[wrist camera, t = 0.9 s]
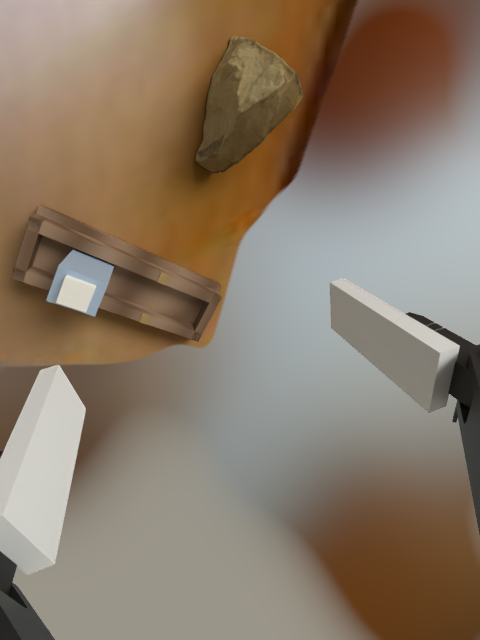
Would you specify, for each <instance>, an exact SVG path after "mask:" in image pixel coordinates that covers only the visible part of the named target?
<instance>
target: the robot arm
mask: <svg viewBox="0 0 480 640" xmlns="http://www.w3.org/2000/svg"><path fill="white" fill-rule="evenodd" d="M330 302H331V303H330V304H331V328H332V329H333V330H334V331H335V332H336V333H338V334H339V335H340V336H341V337H342V338H343V339H345V340H346V341H347V342H348V343H349V344H350V345H351V346H353V347H354V348H355V349H356V350H357V351H358V352H359V353H361V354H362V355H363V356H364V357H365V358H366V359H368V360H369V361H370V362H371V363H372V364H373V365H374V366H376V367H377V368H378V369H379V370H380V371H381V372H382V373H384V374H385V375H386V376H387V377H388V378H389V379H390V380H392V381H393V382H394V383H395V384H396V385H397V386H398V387H400V388H401V389H402V390H403V391H404V392H405V393H407V394H408V395H409V396H410V397H411V398H412V399H413V400H414V401H416V402H417V403H418V404H419V405H420V406H421V407H423V408H424V409H425V410H426V411H427V412H428V413H430V412H432V411H435V410H437V409H440V408H442V407H444V406H446V404H447V400H448V396H449V394H451V395H452V396H453V397H455V398H456V399H457V404H456V408H455V412H454V416H453V422H456V421H457V418H458V420H459V425H460V430H461V436H462V441H463V447H464V452H465V458H466V463H467V469H468V474H469V479H470V485H471V490H472V496H473V501H474V506H475V512H476V517H477V523H478V528H479V533H480V345H474V344H472V343H471V342H469V341H467V340H465V339H463V338H462V337H460V336H458V335H456V334H454V333H452V332H451V331H449V330H447V329H445V328H444V329H443V328H442V326H440V325H438V324H436V323H435V324H434V322H433V321H431V320H429V319H427V318H425V317H424V316H420V315H417V314H413V313H410V312H409V313H406V314H404V313H402V312H401V311H399V310H397V309H396V308H394V307H392V306H390V305H389V304H387V303H385V302H384V301H382V300H380V299H378V298H377V297H375V296H373V295H371V294H370V293H368V292H366V291H365V290H363V289H361V288H359V287H358V286H356V285H354V284H353V283H351V282H349V281H347V280H346V279H344V278H342V279H339V280H336V281H332V282H330ZM85 412H86V408H85V407H84V405H83V403H82V402H81V400H80V399H79V397H78V395H77V394H76V392H75V390H74V389H73V387H72V385H71V384H70V382H69V381H68V379H67V377H66V375H65V374H64V372H63V371H62V369H61V367H60V366H59V365H56V366H52V367H49V368H46V369H42V370H40V372H39V374H38V376H37V379H36V381H35V383H34V385H33V387H32V390H31V392H30V394H29V396H28V398H27V401H26V403H25V405H24V407H23V410H22V412H21V414H20V416H19V419H18V421H17V423H16V425H15V427H14V430H13V432H12V434H11V436H10V438H9V440H8V443H7V445H6V447H5V449H4V450H3V451H1V452H0V640H55V639H54V638H53V637H52V635H51V633H50V632H49V630H48V629H47V628H46V626H45V625H44V623H43V622H42V621H41V619H40V618H39V616H38V615H37V613H36V612H35V611H34V609H33V608H32V606H31V605H30V603H29V602H28V601H27V599H26V598H25V596H24V595H23V593H22V592H21V591H20V589H19V588H18V587H17V586H16V585H15V584H13V583H12V581H13V577H14V574H15V571H16V567H18V568H19V569H20V570H21V571H23V572H24V573H25V574H26V575H30V574H32V573H35V572H37V571H40V570H42V569H45V568H47V567H50V566H52V565H54V564H55V561H56V556H57V551H58V546H59V541H60V535H61V531H62V526H63V520H64V516H65V511H66V506H67V501H68V496H69V491H70V486H71V481H72V476H73V471H74V466H75V461H76V456H77V451H78V446H79V441H80V436H81V431H82V426H83V421H84V417H85Z"/></svg>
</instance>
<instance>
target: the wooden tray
mask: <svg viewBox="0 0 480 640" xmlns="http://www.w3.org/2000/svg"><path fill="white" fill-rule="evenodd" d="M74 248H75V249H78V250H80V251H83V252H85V253H88V254H90V255H93V256H95V257H98V258H100V259H102V260H105V261H107V262H110V263H112V264H115V265H114V268H113V271H112V274H111V277H110V280H109V283H108V286H107V288H106V291H105V293H104V296H103V298H102V301H101V303H100V305H99V308H100V309H103V310H106V311H109V312H112V313H115V314H118V315H121V316H124V317H127V318H130V319H133V320H136V321H137V322H140V323H143V324H146V325H150V326H153V327H156V328H159V329H162V330H165V331H168V332H171V333H174V334H177V335H180V336H183V337H186V338H189V339H192V340H194V341H197V342H198V341H199V339H200V337H201V335H202V333H203V331H204V330H205V328H206V326H207V324H208V322H209V320H210V318H211V316H212V315H213V313H214V311H215V309H216V307H217V305H218V303H219V301H220V299H221V298H222V297H221V295H220V294H219V290H220V288H221V285H220V283H217V282H215V281H213V280H211V279H208V278H206V277H204V276H201V275H199V274H197V273H195V272H192V271H190V270H188V269H186V268H183V267H181V266H179V265H177V264H174V263H172V262H170V261H168V260H165V259H163V258H161V257H159V256H156V255H154V254H152V253H150V252H147V251H145V250H143V249H140V248H138V247H136V246H134V245H131V244H129V243H127V242H125V241H122V240H120V239H118V238H116V237H113V236H111V235H109V234H107V233H104V232H102V231H100V230H98V229H95V228H93V227H91V226H89V225H86V224H84V223H82V222H79V221H77V220H75V219H73V218H70V217H68V216H66V215H64V214H61V213H59V212H57V211H55V210H52V209H50V208H48V207H46V206H43V205H40V206H38V210H37V213H36V214H35V215H32V216H30V218H29V221H28V225H27V228H26V231H25V235H24V238H23V241H22V244H21V248H20V251H19V254H18V257H17V261H16V264H15V267H14V271H13V274H12V277H11V278H12V279H15V280H18V281H21V282H24V283H27V284H30V285H32V286H35V287H38V288H41V289H44V290H47V291H50V288H51V285H52V283H53V280H54V277H55V274H56V271H57V268H58V266H59V264H60V263H61V262H62V261H63V260H64V259H65V258H66V257H67V255H68V254H69V253H70V252H71V251H72V250H73V249H74Z"/></svg>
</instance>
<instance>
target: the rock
mask: <svg viewBox="0 0 480 640" xmlns="http://www.w3.org/2000/svg"><path fill="white" fill-rule="evenodd" d="M302 97H303V93H302V88H301V84H300V80H299V78H298V76H297V74H296V73H295V71H294V70H293V69H292V68H291V67H289V66H288V65H287V64H286V62H285V61H284V60H283V59H281V58H279V56H278V55H277V54H276V53H274V52H272V51H270V50H268V49H266V47H262V46H261V45H260V44H258V43H257V42H256V40H254V39H250V38H243V37H242V36H239V37H237V36H234V37H231V38H230V41H229V47H228V49H227V51H226V52H225V54H224V56H223V59H222V61H221V62H220V63H219V65H218V67H217V69H216V71H215V73H214V74H213V75H212V81H211V86H210V89H209V93H208V96H207V105H206V111H207V113H206V119H205V121H204V127H203V142H202V144H201V145H200V148H199V150H198V151H197V154H196V162H197V163H198V164H199V165H201V166H203V167H204V168H206V169H207V170H208V171H210V172H213V173H219V172H224V171H226V170H227V169H228V168H229V167H231V166H232V165H234V164H237V163H238V162H240V161H241V160H242V159H243V158H244V157H245V156H246V155H247V154H248V153H250V152H251V151H252V150H253V149H254V148H256V147H257V146H258V145H259V144H261V143H262V142H263V141H264V140H265V138H266V137H267V135H268V134H269V133H270V132H271V131H272V130H273V129H274V128H275V127H276V126H277V125H278V124H279V123H281V122H282V121H283V120H284V119H285V118H286V116H287V115H288V114H289V113H290V112H291V111H292V110H294V109H295V107H296V106H297V104H298V103H299V101H300V100H301V98H302Z"/></svg>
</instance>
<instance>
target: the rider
mask: <svg viewBox="0 0 480 640" xmlns="http://www.w3.org/2000/svg"><path fill="white" fill-rule="evenodd" d="M114 265H115V264H112V263H110V262H107V261H105V260H102V259H100V258H98V257H95V256H93V255H90V254H88V253H85V252H83V251H80V250H78V249H75V248H74V249H73V250H72V251H71V252H70V253H69V254H68V255H67V257H66V258H65V259H64V260H63V261H62V262H61V263H60V264H59V266H58V268H57V271H56V274H55V277H54V280H53V283H52V285H51V288H50V291H49V294H48V297H47V300H46V301H48V302H51V303H54V304H57V305H60V306H63V307H66V308H69V309H72V310H75V311H79V312H82V313H85V314H88V315H91V316H94V317H95V315H96V313H97V310H98V308H99V305H100V303H101V301H102V298H103V296H104V293H105V291H106V288H107V286H108V283H109V280H110V277H111V274H112V271H113V268H114Z"/></svg>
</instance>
